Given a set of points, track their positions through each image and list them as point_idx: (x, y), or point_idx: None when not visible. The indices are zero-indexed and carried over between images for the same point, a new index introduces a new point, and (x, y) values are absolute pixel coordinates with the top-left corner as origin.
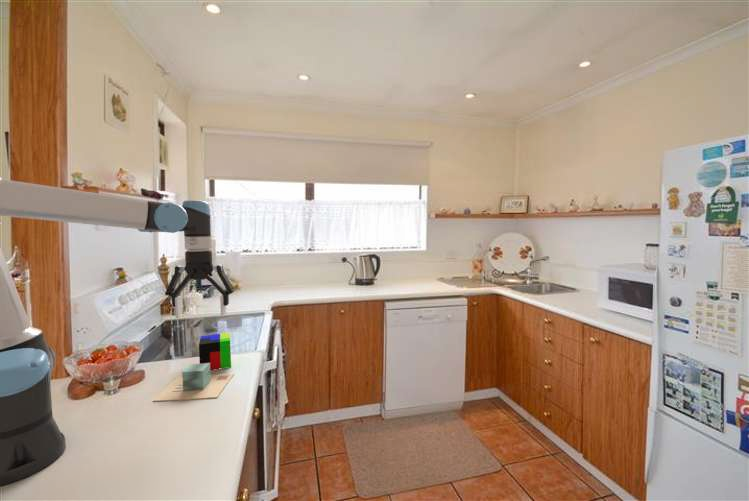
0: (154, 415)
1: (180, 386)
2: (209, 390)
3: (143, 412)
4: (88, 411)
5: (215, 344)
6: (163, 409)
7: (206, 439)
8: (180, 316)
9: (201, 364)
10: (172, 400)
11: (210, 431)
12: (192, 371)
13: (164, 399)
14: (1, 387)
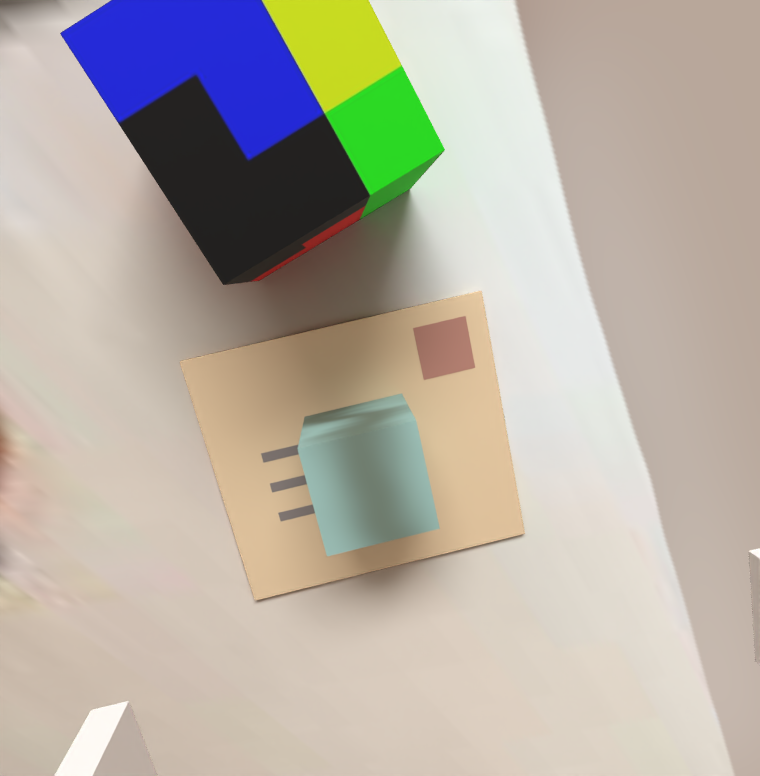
0: (348, 678)
1: (280, 466)
2: (454, 485)
3: (286, 668)
4: (45, 697)
5: (337, 216)
6: (350, 639)
7: (622, 757)
8: (147, 760)
9: (374, 446)
10: (336, 577)
11: (614, 723)
12: (383, 541)
13: (300, 584)
14: None
